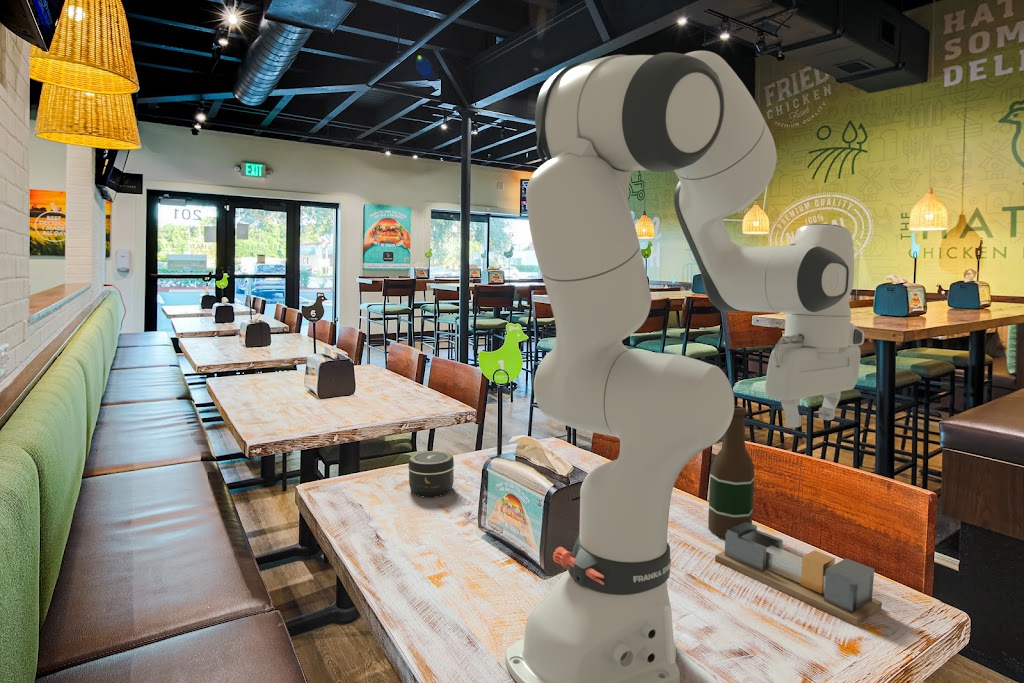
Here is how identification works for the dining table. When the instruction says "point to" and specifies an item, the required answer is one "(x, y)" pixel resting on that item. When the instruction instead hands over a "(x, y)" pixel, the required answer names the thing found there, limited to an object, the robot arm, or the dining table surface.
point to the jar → (431, 473)
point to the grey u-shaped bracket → (749, 545)
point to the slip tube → (800, 567)
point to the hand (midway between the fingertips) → (810, 422)
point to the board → (801, 591)
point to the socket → (849, 585)
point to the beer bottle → (731, 480)
